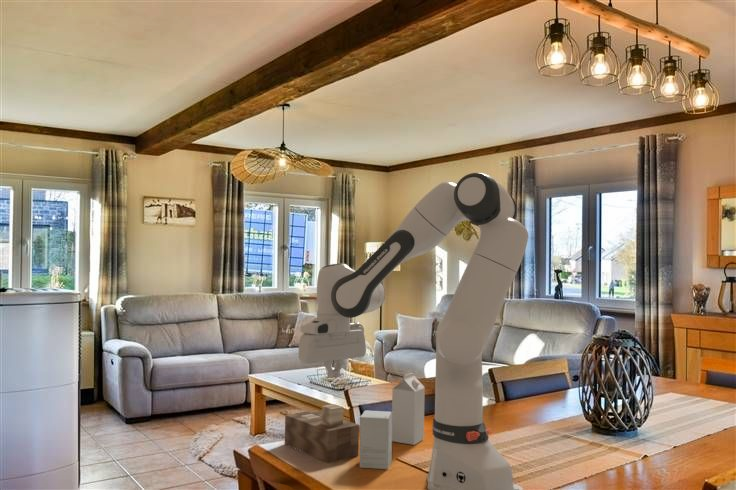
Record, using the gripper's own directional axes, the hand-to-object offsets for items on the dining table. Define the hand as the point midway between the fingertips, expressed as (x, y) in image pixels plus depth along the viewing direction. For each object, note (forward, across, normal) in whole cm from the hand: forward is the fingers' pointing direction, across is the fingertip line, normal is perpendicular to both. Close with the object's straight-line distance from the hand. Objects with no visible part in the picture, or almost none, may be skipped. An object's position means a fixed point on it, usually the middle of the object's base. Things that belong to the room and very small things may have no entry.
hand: (333, 377), depth 162 cm
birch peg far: (+20, 0, -10) cm, 23 cm away
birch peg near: (+16, 0, 0) cm, 16 cm away
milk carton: (+21, -25, +3) cm, 32 cm away
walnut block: (+20, 0, -6) cm, 21 cm away
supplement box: (+21, -4, +12) cm, 25 cm away
